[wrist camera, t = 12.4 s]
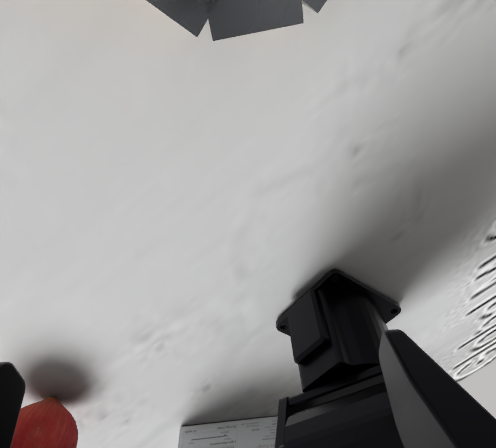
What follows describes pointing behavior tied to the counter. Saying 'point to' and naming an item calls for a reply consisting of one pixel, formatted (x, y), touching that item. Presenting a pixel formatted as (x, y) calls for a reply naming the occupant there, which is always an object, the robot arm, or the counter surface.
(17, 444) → the onion
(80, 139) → the counter surface
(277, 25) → the hinge
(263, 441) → the light bulb box
